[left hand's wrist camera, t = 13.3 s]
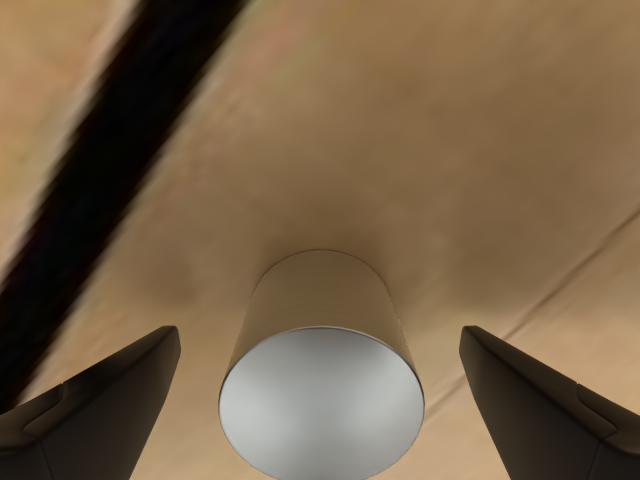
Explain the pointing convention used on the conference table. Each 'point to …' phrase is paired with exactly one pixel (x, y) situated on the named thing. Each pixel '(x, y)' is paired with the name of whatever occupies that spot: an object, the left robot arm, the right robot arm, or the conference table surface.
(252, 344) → the can
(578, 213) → the conference table surface
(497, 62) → the conference table surface
